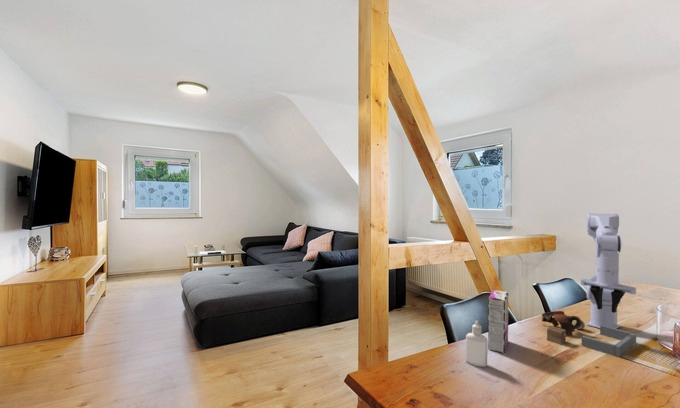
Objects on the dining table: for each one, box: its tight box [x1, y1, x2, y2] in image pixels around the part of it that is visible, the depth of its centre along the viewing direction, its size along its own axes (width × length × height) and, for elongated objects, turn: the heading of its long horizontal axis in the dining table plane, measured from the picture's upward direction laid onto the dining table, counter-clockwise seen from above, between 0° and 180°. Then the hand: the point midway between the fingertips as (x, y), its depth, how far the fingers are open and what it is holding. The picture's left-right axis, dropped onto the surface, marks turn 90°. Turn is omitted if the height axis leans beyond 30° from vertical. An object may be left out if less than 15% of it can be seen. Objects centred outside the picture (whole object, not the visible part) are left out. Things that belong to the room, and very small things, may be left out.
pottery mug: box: [541, 310, 583, 336], centre depth 118 cm, size 12×10×8 cm
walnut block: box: [546, 325, 567, 345], centre depth 109 cm, size 4×4×4 cm
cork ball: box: [572, 319, 586, 330], centre depth 120 cm, size 4×4×4 cm
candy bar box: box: [487, 289, 509, 354], centre depth 105 cm, size 11×5×16 cm, turn 148°
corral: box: [581, 325, 637, 358], centre depth 107 cm, size 18×9×3 cm, turn 125°
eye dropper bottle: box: [464, 320, 488, 368], centre depth 92 cm, size 4×6×12 cm
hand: (606, 310), depth 111 cm, fingers open, 3 cm apart
